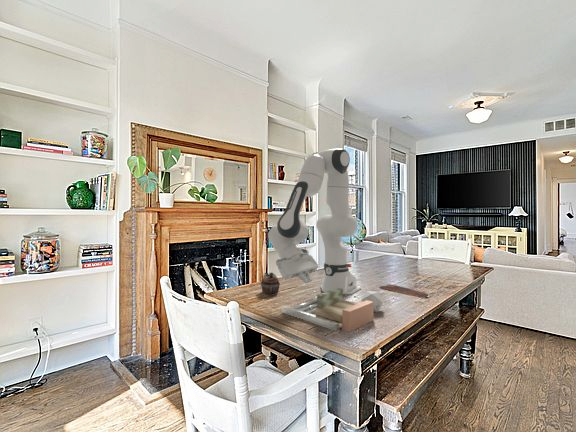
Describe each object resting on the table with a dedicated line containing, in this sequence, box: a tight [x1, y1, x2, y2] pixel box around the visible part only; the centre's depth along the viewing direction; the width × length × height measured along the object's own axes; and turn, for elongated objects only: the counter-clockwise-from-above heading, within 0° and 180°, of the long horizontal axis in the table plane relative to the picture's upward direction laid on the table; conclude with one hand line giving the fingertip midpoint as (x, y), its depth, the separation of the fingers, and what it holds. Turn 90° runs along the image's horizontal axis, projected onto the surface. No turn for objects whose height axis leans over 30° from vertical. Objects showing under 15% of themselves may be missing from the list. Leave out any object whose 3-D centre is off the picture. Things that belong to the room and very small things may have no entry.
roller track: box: [281, 295, 342, 332], centre depth 126 cm, size 22×27×2 cm
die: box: [361, 290, 383, 313], centre depth 131 cm, size 8×9×10 cm
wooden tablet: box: [378, 283, 429, 298], centre depth 161 cm, size 26×2×10 cm
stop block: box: [341, 300, 374, 333], centre depth 115 cm, size 16×3×7 cm, turn 135°
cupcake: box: [260, 272, 281, 296], centre depth 158 cm, size 10×10×10 cm
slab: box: [315, 288, 358, 323], centre depth 120 cm, size 16×12×7 cm
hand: (308, 282), depth 133 cm, fingers closed
